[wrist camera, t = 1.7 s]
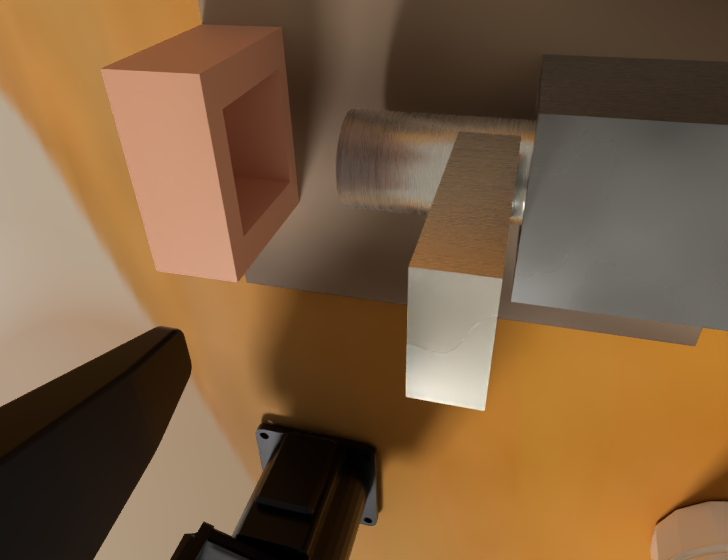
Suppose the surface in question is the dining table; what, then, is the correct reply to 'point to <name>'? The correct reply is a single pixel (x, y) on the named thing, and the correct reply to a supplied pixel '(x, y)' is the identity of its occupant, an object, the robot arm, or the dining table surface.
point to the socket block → (208, 145)
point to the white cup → (693, 533)
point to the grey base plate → (437, 96)
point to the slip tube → (443, 230)
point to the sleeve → (628, 190)
